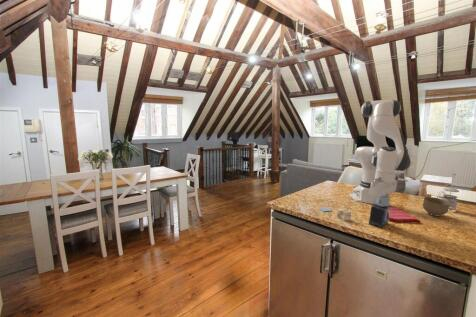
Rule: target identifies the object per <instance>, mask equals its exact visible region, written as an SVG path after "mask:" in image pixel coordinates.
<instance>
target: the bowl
mask: <svg viewBox="0 0 476 317" xmlns="http://www.w3.org/2000/svg"><path fill="white" fill-rule="evenodd" d="M439 198H440V197H438V198H437V197H432V196H424V197H423V202H422V207H423V209H424V210H425V212H426V213H427V214H428V213H429V214H428V215H430V214H432V215H439V216H442V215H445V214H447V213H449V212H448V208H449V205H450V203H449V202H448V201H445V200H442V198H440V199H439ZM432 215H431V216H432Z"/></svg>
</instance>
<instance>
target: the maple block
mask: <svg viewBox="0 0 476 317" xmlns="http://www.w3.org/2000/svg"><path fill="white" fill-rule="evenodd" d="M351 217H352V211H351V210H348V209H346V208H340V209H337V213H336V218H337V219H339V220H341V221H343V222H345V221H351Z"/></svg>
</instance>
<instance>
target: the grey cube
mask: <svg viewBox="0 0 476 317" xmlns="http://www.w3.org/2000/svg"><path fill="white" fill-rule="evenodd" d="M379 198H380V203H376V199H375V197H374V204H373V205H375V204H376V205H379V206H381V207H383V206H390V196H389V197H388V196H385V194H384V195H380V197H379Z"/></svg>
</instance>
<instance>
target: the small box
mask: <svg viewBox="0 0 476 317" xmlns="http://www.w3.org/2000/svg"><path fill="white" fill-rule="evenodd" d="M372 205H373V206H372ZM372 205H371V207H370V213H369V219H368V220H369V221H368V224H369V225H371V226H375V227H377V228H383V227H385V226H386V225H388V224H389V220H388V218H389V211H390V207H391V206H390V205H389V206H383V207H381V206H379V205H376V204H372ZM382 226H383V227H382Z"/></svg>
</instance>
